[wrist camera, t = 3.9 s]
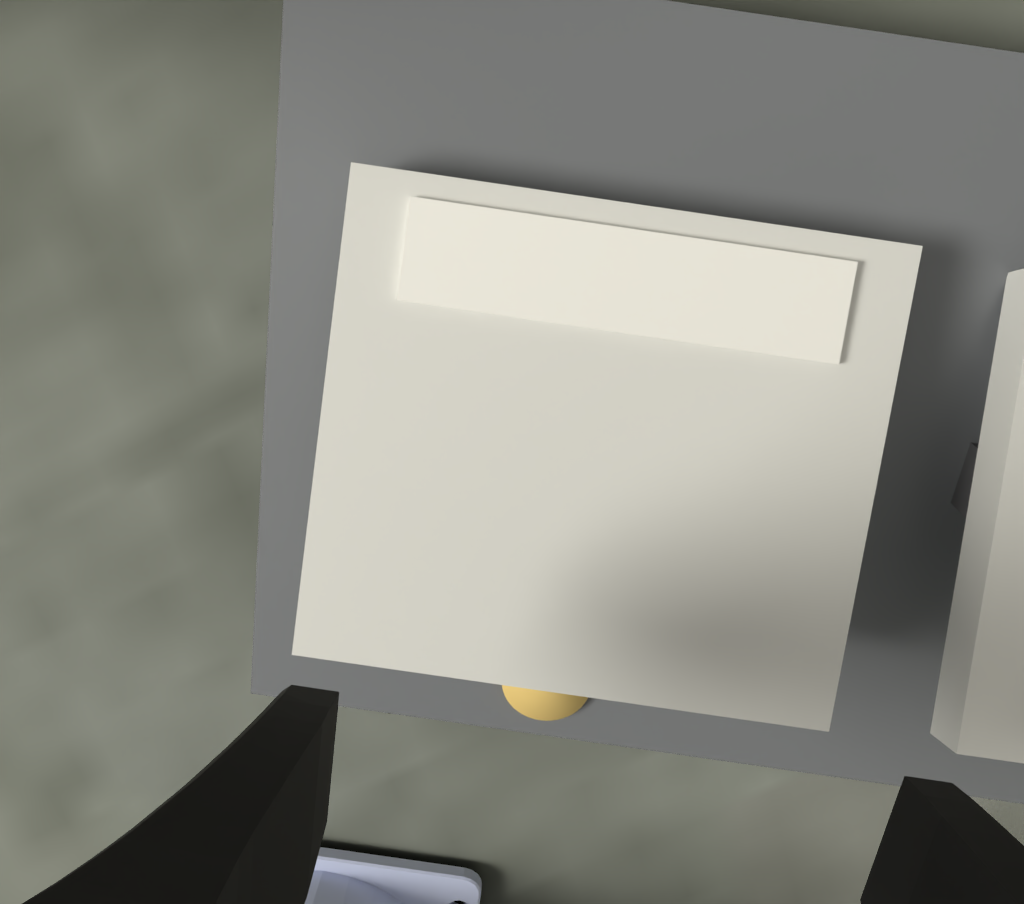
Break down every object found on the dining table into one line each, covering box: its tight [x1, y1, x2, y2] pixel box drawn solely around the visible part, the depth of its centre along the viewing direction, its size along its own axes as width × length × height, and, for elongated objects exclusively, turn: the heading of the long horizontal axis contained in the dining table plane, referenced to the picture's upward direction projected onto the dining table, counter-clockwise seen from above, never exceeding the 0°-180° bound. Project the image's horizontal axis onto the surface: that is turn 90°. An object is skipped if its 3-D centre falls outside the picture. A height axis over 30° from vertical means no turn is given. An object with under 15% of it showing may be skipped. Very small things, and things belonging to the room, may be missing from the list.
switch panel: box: [251, 0, 1024, 804], centre depth 19 cm, size 14×23×3 cm, turn 82°
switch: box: [292, 162, 923, 732], centre depth 16 cm, size 8×9×1 cm
